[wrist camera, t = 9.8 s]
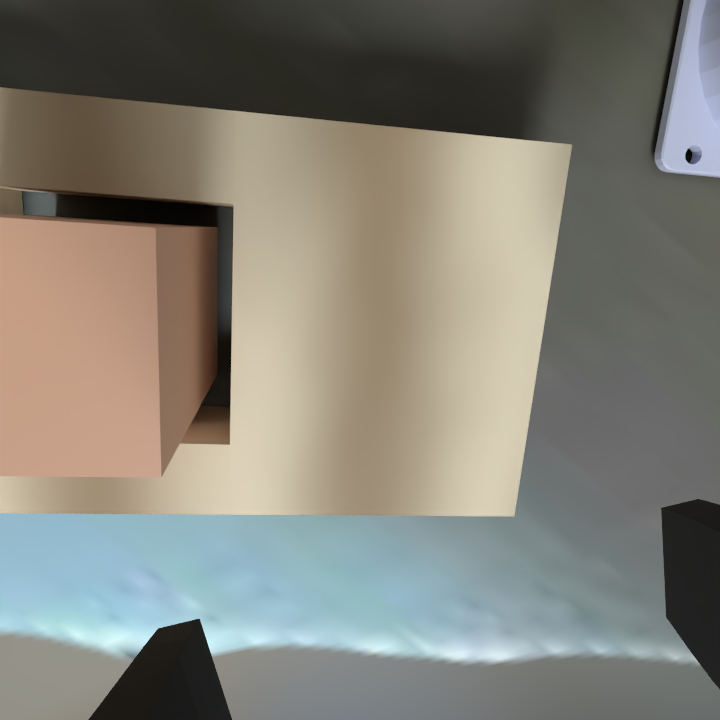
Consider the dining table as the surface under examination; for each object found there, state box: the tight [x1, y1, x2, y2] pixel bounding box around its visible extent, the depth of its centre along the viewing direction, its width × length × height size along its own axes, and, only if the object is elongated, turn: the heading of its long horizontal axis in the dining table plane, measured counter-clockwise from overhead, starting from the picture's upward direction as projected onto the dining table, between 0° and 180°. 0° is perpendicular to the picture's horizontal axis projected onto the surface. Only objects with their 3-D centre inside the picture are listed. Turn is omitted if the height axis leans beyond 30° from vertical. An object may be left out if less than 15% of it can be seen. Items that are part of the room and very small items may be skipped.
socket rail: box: [0, 87, 572, 516], centre depth 14 cm, size 22×10×3 cm, turn 86°
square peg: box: [0, 214, 218, 478], centre depth 12 cm, size 4×4×7 cm
